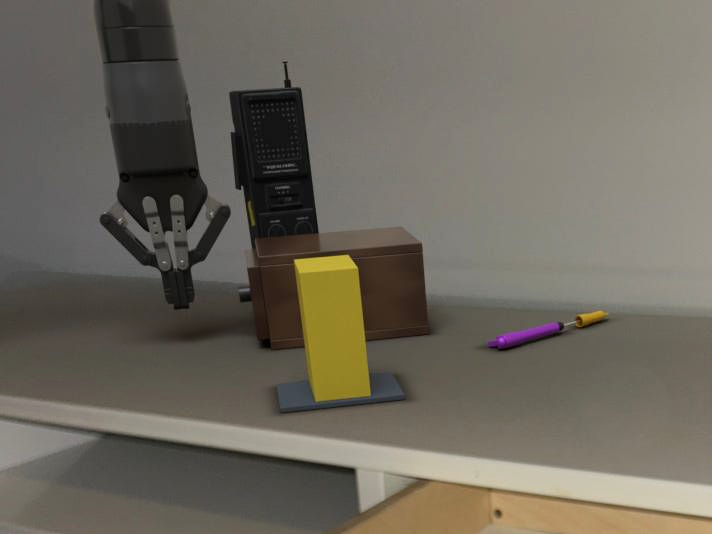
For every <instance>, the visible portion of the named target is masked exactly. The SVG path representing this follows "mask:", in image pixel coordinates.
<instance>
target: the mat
mask: <svg viewBox="0 0 712 534" xmlns="http://www.w3.org/2000/svg"><path fill="white" fill-rule="evenodd" d="M369 381H370V391H371V396H369V397H359V398H350V399H341V400H332V401H323V402H315V398H314V395H313V392H312V388H311V385H310V381H309V379H308V380H297V381H289V382H278V383H276V384H275V386H276V391H277V399H278V403H279V410H280V413H282V414H283V413H292V412H303V411H310V410H312V411H313V410H321V409H329V408H339V407H348V406H349V407H350V406H357V405H366V404H376V403H384V402H394V401H404V400H406V396H405V393H404V391H403V389H402V388H401V386H400V384H399V382H398V381H397V379H396V378H395V376H394V374H393V372H392V371H384V372H374V373H369Z"/></svg>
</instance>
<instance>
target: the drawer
mask: <svg viewBox="0 0 712 534" xmlns="http://www.w3.org/2000/svg"><path fill="white" fill-rule="evenodd" d="M244 255H245V263H246V272H247V277H248V284H247V285H245V284H244V285H238V286H237V290H238V298H239V302H240V303H250V302H251V304H252V312H253V318H254V324H255V332H256V338H257V340H258V341H262V340H270V336H269V329H268V322H267V315H266V308H265V301H264V294H263V287H262V280H261V273H260V266H259V261H258V256H257V250H256V249H252V248H248V249H247V248H246V249H244Z"/></svg>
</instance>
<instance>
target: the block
mask: <svg viewBox="0 0 712 534" xmlns="http://www.w3.org/2000/svg"><path fill="white" fill-rule="evenodd" d="M294 266H295V273H296V281H297V289H298V297H299V304H300V312H301V320H302V328H303V336H304V343H305V347H304V350H305V351H304V352H305V359H306V367H307V371H308V372H307V373H308V380H309V381H310V385H311V388H312V392H313V395H314V398H315V402H323V401H332V400H341V399H350V398H359V397H369V396H371V391H370V381H369V374H370V372H369V363H368V362H369V361H368V352H367V344H366V343H367V342H366V341H367V340H365V332H364V322H363V312H362V302H361V292H360V283H359V273H358V267H357V266H356V265H355V263H354V262H353V261H352V259H351V258H350V256H349V255H341V256H330V257H318V258H306V259H295V260H294Z"/></svg>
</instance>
